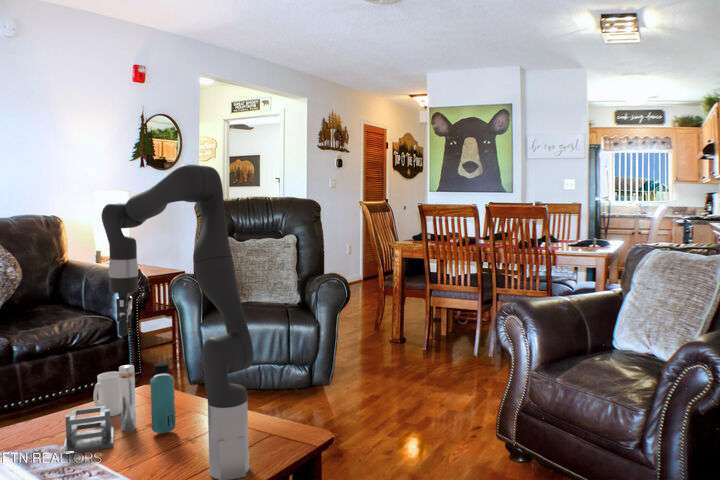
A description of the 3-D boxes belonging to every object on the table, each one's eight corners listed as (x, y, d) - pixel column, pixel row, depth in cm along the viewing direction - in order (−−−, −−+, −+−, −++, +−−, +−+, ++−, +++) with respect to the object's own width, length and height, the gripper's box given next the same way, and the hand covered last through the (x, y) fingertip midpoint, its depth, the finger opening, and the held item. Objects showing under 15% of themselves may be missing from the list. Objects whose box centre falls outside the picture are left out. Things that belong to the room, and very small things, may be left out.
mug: (109, 408, 184) (108, 370, 183) (127, 410, 181) (126, 372, 181) (85, 419, 174) (83, 380, 173) (104, 422, 172) (102, 382, 171)
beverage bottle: (168, 439, 159) (166, 367, 158) (146, 437, 161) (144, 366, 159) (180, 430, 166) (178, 360, 164) (159, 428, 167) (156, 359, 165)
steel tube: (136, 430, 166) (134, 367, 165) (121, 432, 164) (118, 369, 163) (136, 424, 170) (134, 364, 168) (121, 427, 168) (118, 365, 167)
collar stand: (113, 447, 154) (112, 417, 154) (62, 455, 150) (61, 424, 149) (113, 430, 166) (112, 402, 165) (66, 437, 161) (65, 408, 160)
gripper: (135, 278, 157) (137, 337, 159) (140, 270, 171) (141, 324, 172) (105, 279, 155) (107, 339, 156) (112, 271, 168) (113, 326, 170)
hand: (124, 331), depth 164 cm, fingers open, 8 cm apart
